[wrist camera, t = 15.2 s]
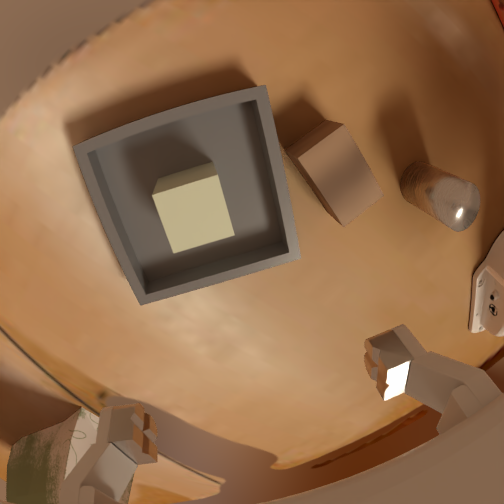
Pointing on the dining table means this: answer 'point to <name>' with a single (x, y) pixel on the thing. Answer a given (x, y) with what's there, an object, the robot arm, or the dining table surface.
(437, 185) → the metal cylinder
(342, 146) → the walnut block
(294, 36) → the dining table surface
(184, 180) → the sage cube
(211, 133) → the charcoal tray
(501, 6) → the cracker box
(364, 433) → the dining table surface
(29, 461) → the grocery bag
